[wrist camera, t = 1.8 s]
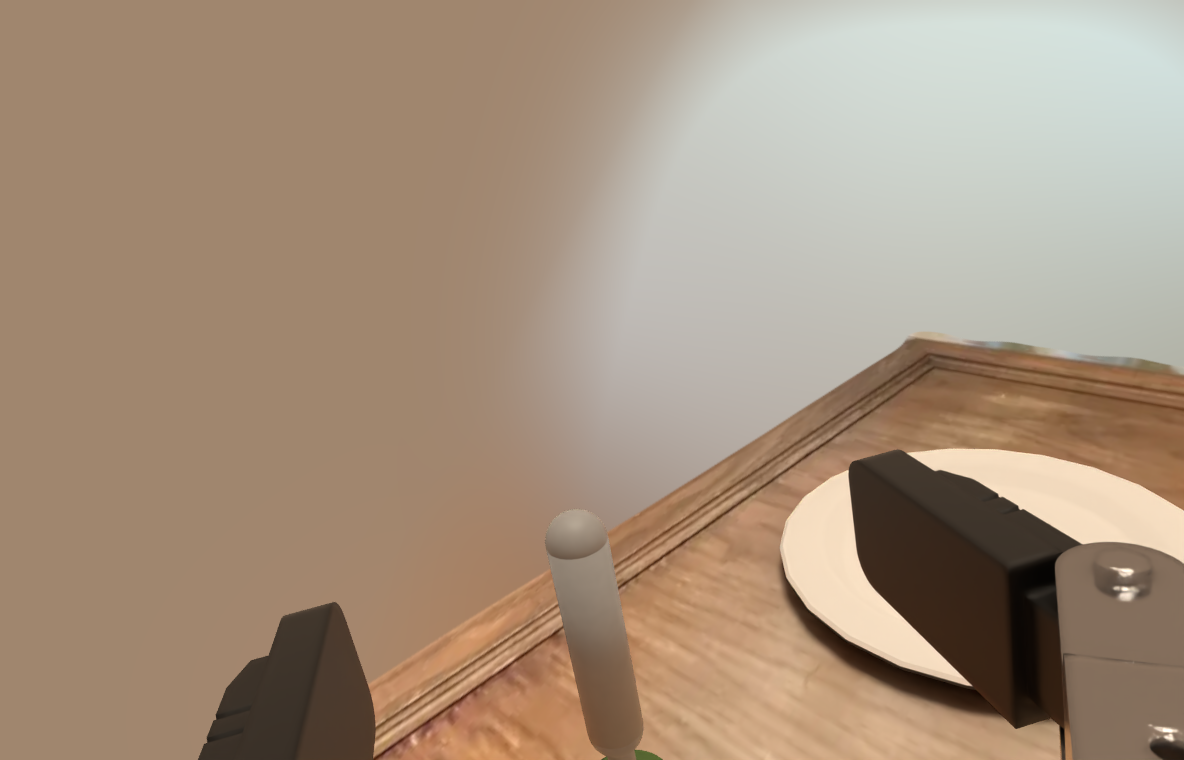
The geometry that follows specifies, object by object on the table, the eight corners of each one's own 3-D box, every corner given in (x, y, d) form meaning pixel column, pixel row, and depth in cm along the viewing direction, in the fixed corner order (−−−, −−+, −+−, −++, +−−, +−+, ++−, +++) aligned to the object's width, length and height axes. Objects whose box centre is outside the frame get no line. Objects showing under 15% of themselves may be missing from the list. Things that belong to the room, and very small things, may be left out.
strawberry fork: (560, 966, 27) (448, 565, 21) (604, 830, 32) (522, 467, 26) (712, 1002, 25) (636, 575, 19) (736, 852, 30) (680, 468, 24)
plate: (936, 438, 55) (936, 416, 55) (1319, 564, 38) (1325, 535, 38) (705, 569, 46) (701, 544, 45) (1073, 813, 29) (1076, 779, 28)
